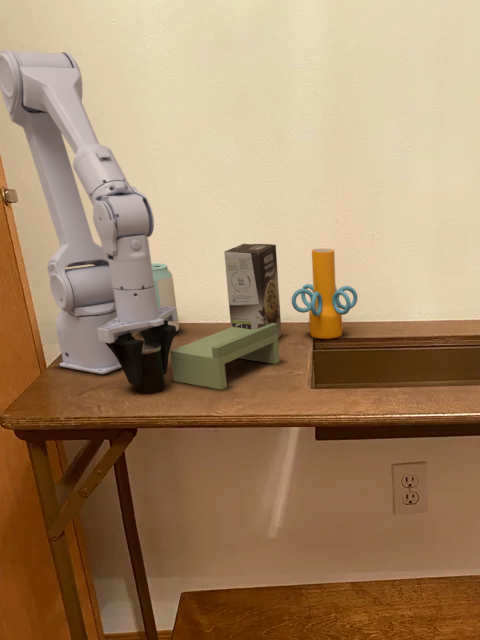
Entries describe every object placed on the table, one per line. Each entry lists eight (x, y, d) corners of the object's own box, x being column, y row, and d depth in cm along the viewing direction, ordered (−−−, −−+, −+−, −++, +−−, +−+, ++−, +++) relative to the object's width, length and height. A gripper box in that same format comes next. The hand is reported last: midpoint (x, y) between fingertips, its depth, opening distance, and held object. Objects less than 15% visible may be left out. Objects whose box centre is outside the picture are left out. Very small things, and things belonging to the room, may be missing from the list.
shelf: (174, 381, 124) (168, 340, 120) (235, 354, 136) (231, 317, 133) (221, 389, 120) (217, 347, 117) (279, 361, 133) (277, 323, 130)
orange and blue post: (350, 325, 154) (348, 244, 146) (365, 340, 145) (364, 253, 138) (288, 330, 150) (283, 247, 143) (299, 345, 142) (294, 257, 134)
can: (140, 329, 150) (130, 263, 144) (178, 327, 151) (170, 261, 146) (140, 339, 144) (129, 270, 138) (180, 336, 146) (171, 268, 140)
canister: (125, 390, 119) (117, 348, 116) (147, 381, 123) (141, 339, 120) (151, 395, 117) (144, 352, 114) (173, 386, 121) (167, 344, 118)
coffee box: (266, 348, 139) (258, 252, 131) (231, 346, 140) (222, 250, 132) (283, 335, 147) (277, 243, 139) (250, 333, 148) (242, 241, 140)
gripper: (119, 299, 106) (135, 397, 112) (189, 279, 117) (199, 369, 124) (79, 293, 108) (97, 389, 115) (151, 274, 120) (163, 363, 126)
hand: (147, 378), depth 120 cm, fingers closed on canister, 5 cm apart
